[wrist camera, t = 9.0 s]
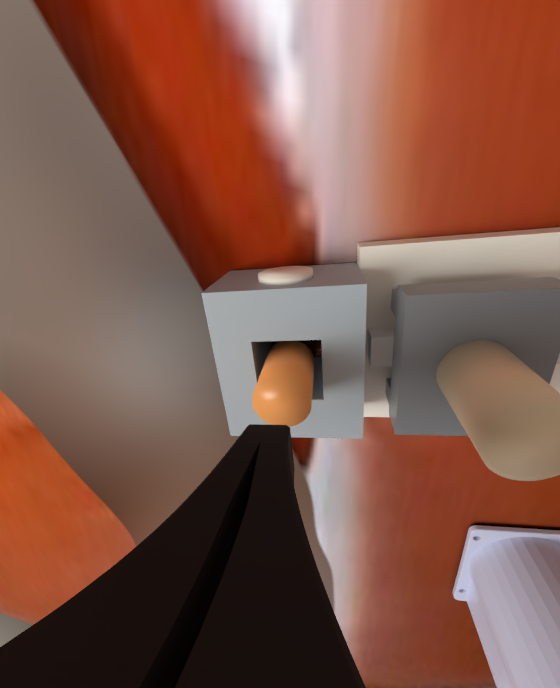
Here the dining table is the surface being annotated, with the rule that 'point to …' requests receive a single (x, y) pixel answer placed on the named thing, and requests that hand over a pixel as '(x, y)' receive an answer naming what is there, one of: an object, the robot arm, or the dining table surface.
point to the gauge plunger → (285, 384)
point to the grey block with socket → (292, 325)
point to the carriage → (481, 369)
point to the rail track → (440, 267)
